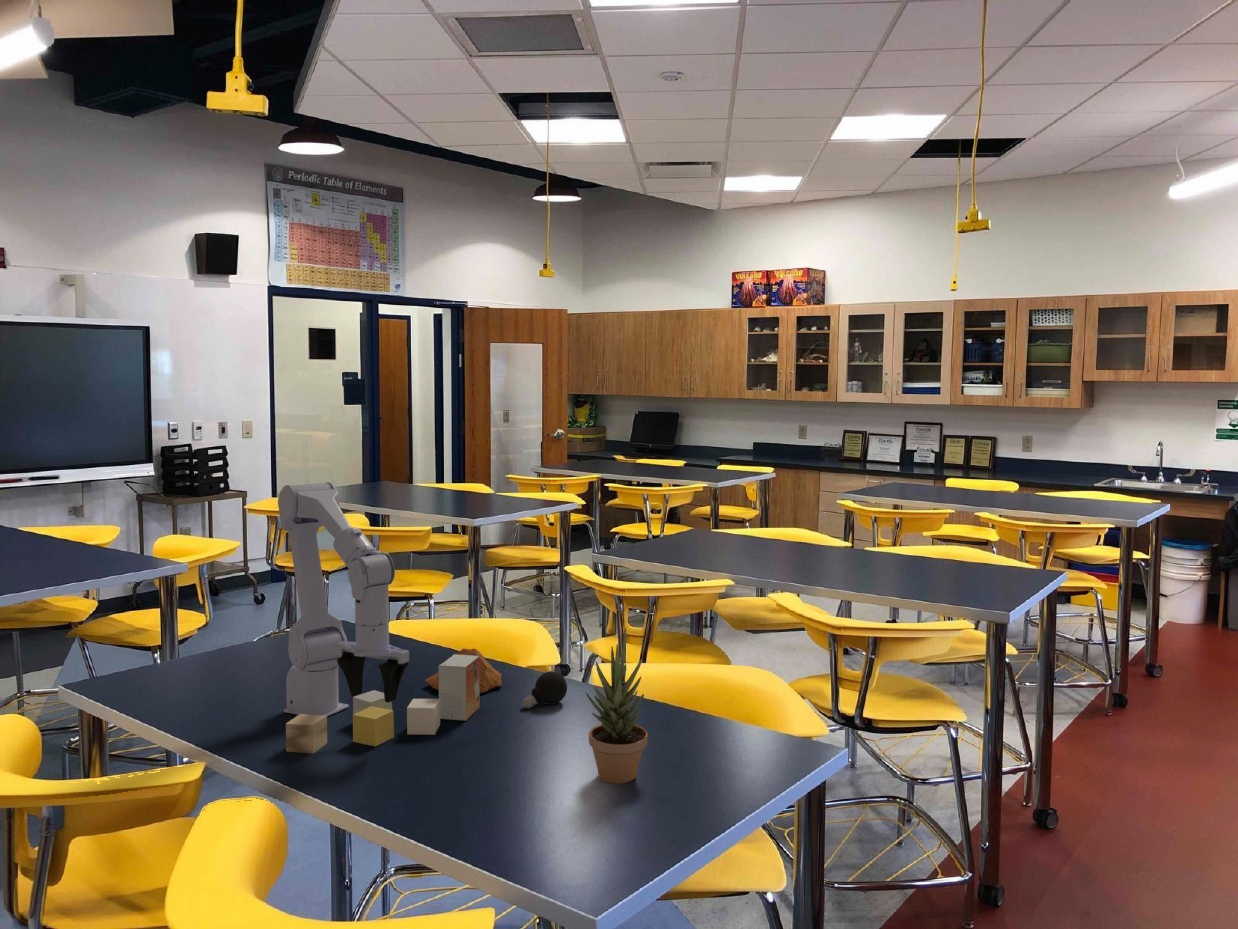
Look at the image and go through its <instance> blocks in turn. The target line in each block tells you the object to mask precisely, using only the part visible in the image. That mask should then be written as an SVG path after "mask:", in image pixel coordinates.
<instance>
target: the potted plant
mask: <svg viewBox="0 0 1238 929" xmlns="http://www.w3.org/2000/svg"><path fill="white" fill-rule="evenodd" d="M623 631H624V632H623V634H624V635H623V641H622V642H623V643H622V651H621V656H620V650H619V649H620V648H619V644H618V643H616V647H615V653H614V648H613V646H611V651H610V676H611V677H610V679H611V680H610V682H611V684H610V683H609V681H608V680H607V678H606V677H605V675H604V673H603V671H602V670H601V668H600V665H599V663H598V662H597V661H595V666H596V671H597V675H598V677H599V680H600V683H601V685H602V688H603V692H604V695H603V694H602V692H600V691H599V689H598V688H597V687H596V686H593V689H594V691H595V695H594V696H593V697H594V699H595V701H596V702H597V703H596V702H595V701H594V700H593V699H592V697H591V696H590V695H589V694H588V692H585V694H586V697H587V698H588V701H589V702H590V703H591V705H592V706H593V707H594V709H595V710H596V711H597V712H598V713H599V715H597V714H596V713H594V712H592V713H591V715H593V717H594V718H595V719H596V720H598V721H599V722H600V723H601V724H597V725H596V726H592V727H591V729H590V730H589V732H588V744H589V745H590V747H591V749H592V753H593V755H594V756H593V757H594V759H595V764H596V768H597V773H598V777H599V779H600V780H602V781H603V782H604V783H605V782H606V783H609V784H626V783H631V782H632V781H633V780H634V779H636V778H637V774H638V769H639V765H640V761H641V758H642V756H643V755H642V754H643V752H644V751H643V750H644V749H645V748H646V747H647V745H648V737H649V736H648V731H647V730H646V729H644V728H643V727H641V726H639V725H636V724H635V722H636V721H637V720H638V719H639V716H640V714H639V713H640V711H641V710H642V709H641V708H639V709H637V710H636V711H635V709H636V708H637V707H638V705H640V703H641V701H642V700H643V698H644V697H645V693H642V694H641V695H640V696H639V697H638V699H637V700H636V701H635V702H634V700H635V698H636V696H637V694H638V691H639V690H637V689H638V687H639V684H640V682H641V680H642V676H640V677H638V679H637V680H636V682H635V683H634V680H635V678H636V676H637V674H638V672H639V670H640V668H641V665H642V663H643V658H641V659H640V660H639V661H638V663H637V665H636V667H635V668H634V670H633V672H632V673H631V675H630V676H629V677H628V678H627V680H626V674H627V663H626V652H627V627H624V630H623ZM633 683H634V684H633ZM632 684H633V686H632ZM631 686H632V687H631ZM596 695H597V696H596ZM633 703H634V704H633ZM633 711H635V712H634V713H633ZM632 713H633V714H632ZM631 714H632V715H631Z"/></svg>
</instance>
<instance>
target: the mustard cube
mask: <svg viewBox="0 0 1238 929" xmlns="http://www.w3.org/2000/svg"><path fill="white" fill-rule="evenodd" d="M394 712H395V711H394V710H393V709H392V710H389V709H383V708H378V707H373V706H371V707H369V708H366V709H364V710H362V711H360V712H358V713H355V714H353V713H352V742H353V743H358V744H362V745H368V746H371V747H378V746H379V745H381V744H383V743H385V742H387V741H389V740H392V739H393V738H395V723H394V722H395V721H394V720H395V718H394V717H395V716H394Z"/></svg>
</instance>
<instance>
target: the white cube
mask: <svg viewBox="0 0 1238 929" xmlns="http://www.w3.org/2000/svg"><path fill="white" fill-rule="evenodd" d="M406 725H407V726H406V731H407V735H427V736H428V735H430V736H431V735H433V736H434V735H436V733H437V731H438V730H439V727H440V726H441V719H440V699H439V698H412V700H411V701H410V703H409V704H408V705H407V707H406Z"/></svg>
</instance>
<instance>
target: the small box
mask: <svg viewBox="0 0 1238 929" xmlns="http://www.w3.org/2000/svg"><path fill="white" fill-rule="evenodd" d="M438 671H439V690H438V699H440V720H452V721H468V719H469V718H470V717H471V716H472V715H474V713H475V712H477V711H478V710H479V709H480V707H481V705H480V703H481V700H480V698H481V696H480V694H481V693H480V656H472V655H457V654H456V653H454V654H451V657H449V658H447V659H446V660H445V661H443V662H442V663H441V664H439V665H438Z"/></svg>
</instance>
